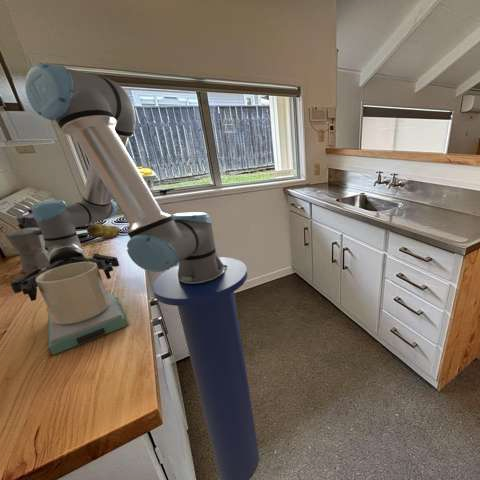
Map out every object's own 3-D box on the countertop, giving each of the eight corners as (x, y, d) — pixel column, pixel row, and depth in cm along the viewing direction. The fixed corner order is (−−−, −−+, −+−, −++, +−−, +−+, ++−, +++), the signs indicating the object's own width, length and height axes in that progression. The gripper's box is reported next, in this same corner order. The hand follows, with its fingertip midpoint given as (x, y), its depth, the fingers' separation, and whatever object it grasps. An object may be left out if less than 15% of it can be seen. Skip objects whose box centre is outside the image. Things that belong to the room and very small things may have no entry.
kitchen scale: (115, 298, 79) (112, 289, 78) (127, 326, 66) (124, 316, 65) (51, 319, 70) (47, 309, 68) (52, 356, 57) (46, 345, 56)
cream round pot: (107, 295, 74) (94, 258, 70) (113, 311, 67) (99, 270, 63) (54, 312, 67) (36, 271, 63) (55, 332, 60) (34, 287, 56)
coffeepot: (9, 274, 95) (-14, 228, 89) (34, 263, 104) (15, 220, 98) (53, 272, 96) (33, 226, 90) (73, 261, 105) (57, 219, 99)
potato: (123, 236, 134) (118, 222, 131) (91, 243, 126) (85, 227, 123) (120, 233, 140) (116, 219, 137) (90, 238, 131) (84, 224, 129)
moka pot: (65, 246, 121) (49, 205, 114) (57, 257, 109) (38, 212, 102) (37, 251, 116) (18, 208, 109) (25, 263, 104) (3, 215, 97)
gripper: (122, 257, 85) (137, 279, 71) (9, 285, 69) (-1, 321, 55) (116, 236, 83) (130, 254, 68) (-3, 260, 66) (-17, 290, 52)
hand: (72, 283), depth 61 cm, fingers open, 13 cm apart
